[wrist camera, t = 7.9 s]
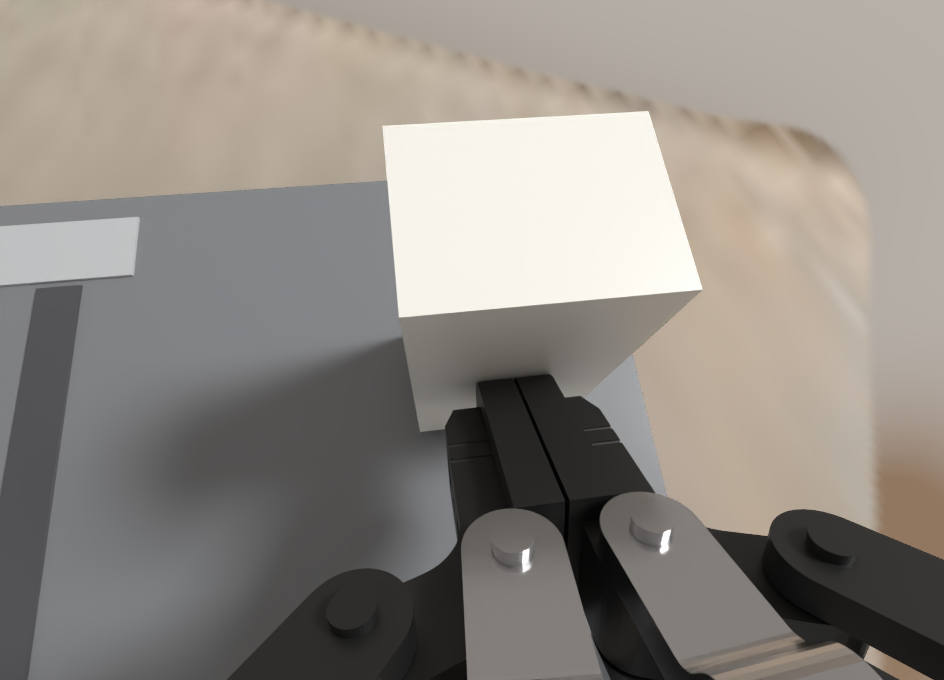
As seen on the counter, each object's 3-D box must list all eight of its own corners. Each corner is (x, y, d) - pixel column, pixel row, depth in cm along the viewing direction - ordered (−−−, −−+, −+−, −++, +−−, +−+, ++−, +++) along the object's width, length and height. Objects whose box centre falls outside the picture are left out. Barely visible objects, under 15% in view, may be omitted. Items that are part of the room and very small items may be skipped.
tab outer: (420, 431, 14) (398, 317, 6) (410, 328, 15) (382, 125, 7) (564, 415, 14) (702, 289, 7) (546, 316, 15) (648, 111, 8)
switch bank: (-246, 1101, 10) (-361, 1197, 9) (-42, 237, 17) (-88, 210, 16) (735, 890, 13) (776, 938, 11) (576, 194, 19) (588, 165, 18)
